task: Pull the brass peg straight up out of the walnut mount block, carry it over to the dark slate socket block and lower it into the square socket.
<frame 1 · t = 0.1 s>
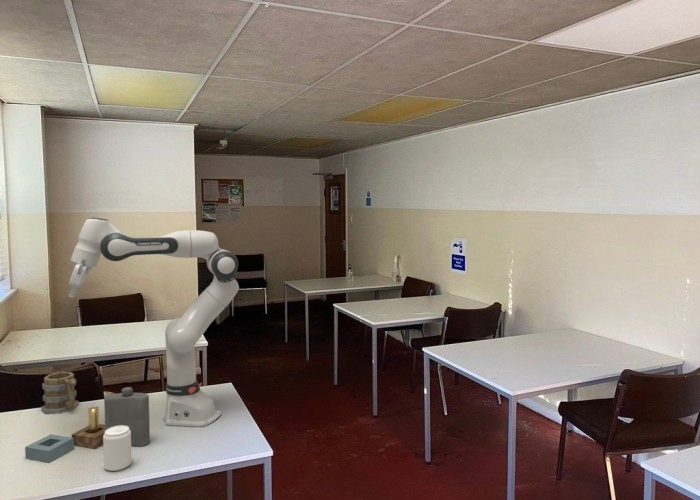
hand: (72, 295, 180), 52 cm above the table, tool tilted 20°, fingers open, 8 cm apart
slate socket block: (50, 453, 167), on the table
brass peg: (93, 424, 176), in the walnut mount
flask: (128, 443, 175), on the table
tankard: (63, 410, 204), on the table
walnut mount: (94, 440, 176), on the table
beverage can: (118, 466, 159), on the table
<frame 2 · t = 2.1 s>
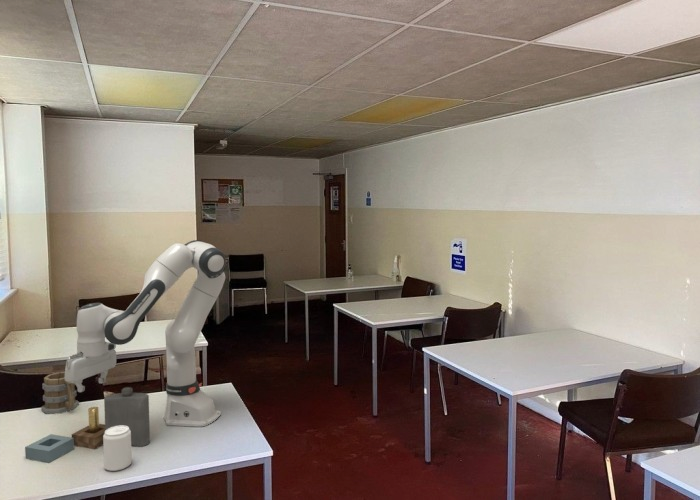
hand: (91, 387, 175), 20 cm above the table, tool pointing down, fingers open, 8 cm apart
nothing on the table moved.
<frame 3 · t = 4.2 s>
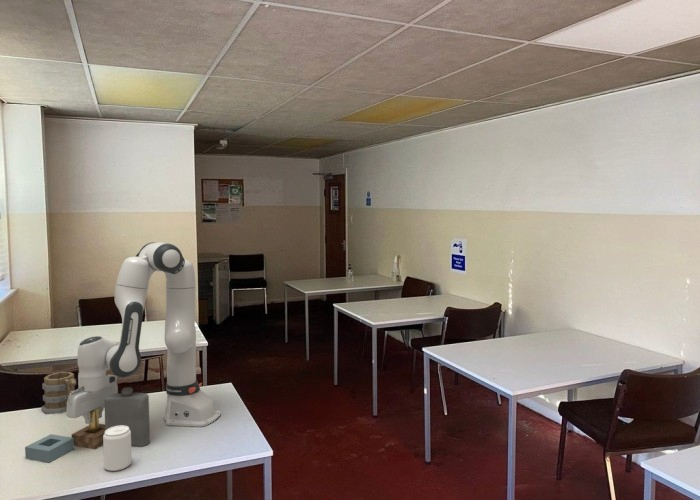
hand: (93, 420, 176), 8 cm above the table, tool pointing down, fingers closed on brass peg, 3 cm apart
brass peg: (93, 424, 176), in the walnut mount, touching gripper
everything else where it was.
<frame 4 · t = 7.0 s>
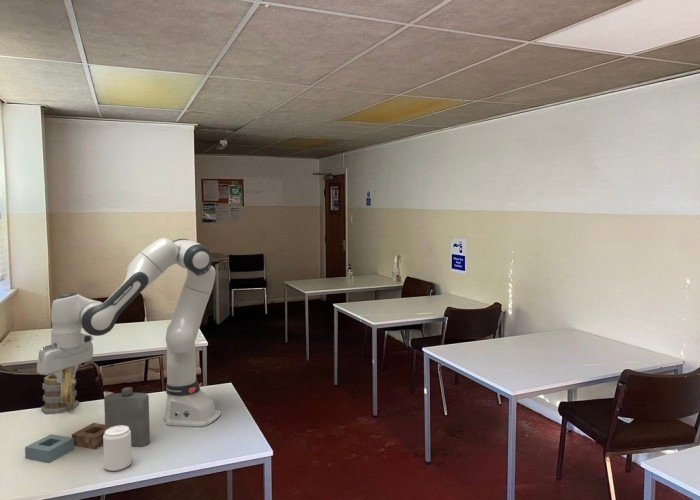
hand: (66, 380, 169), 24 cm above the table, tool pointing down, fingers closed on brass peg, 3 cm apart
brass peg: (66, 384, 169), point 23 cm above the table, touching gripper
everything else where it was.
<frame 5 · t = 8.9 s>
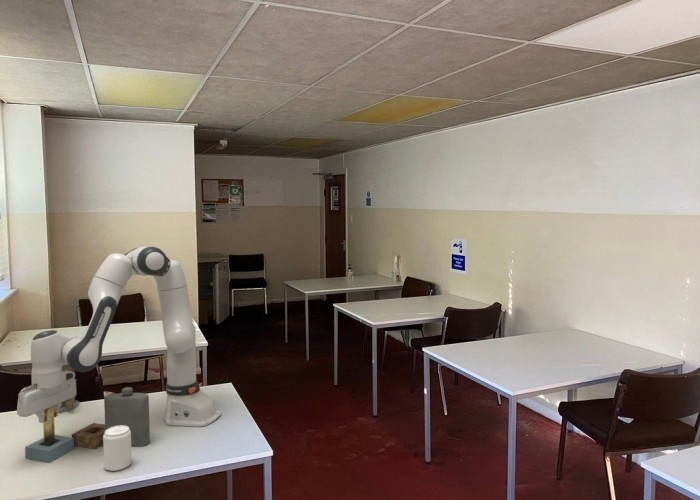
hand: (48, 419, 166), 12 cm above the table, tool pointing down, fingers closed on brass peg, 3 cm apart
brass peg: (48, 423, 166), point 10 cm above the table, touching gripper
everything else where it was.
when the fingers open (9 cm above the table, at t = 10.1 s): brass peg drops 2 cm, resting in slate socket block.
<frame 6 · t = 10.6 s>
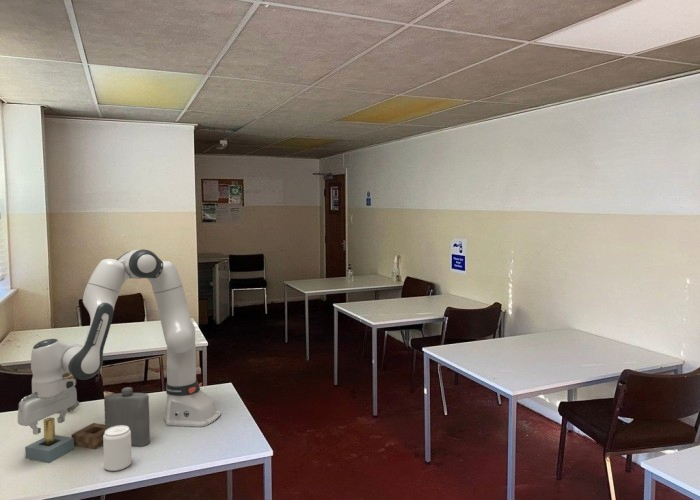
hand: (49, 427, 166), 9 cm above the table, tool pointing down, fingers open, 8 cm apart
brass peg: (49, 436, 167), in the slate socket block
everything else where it was.
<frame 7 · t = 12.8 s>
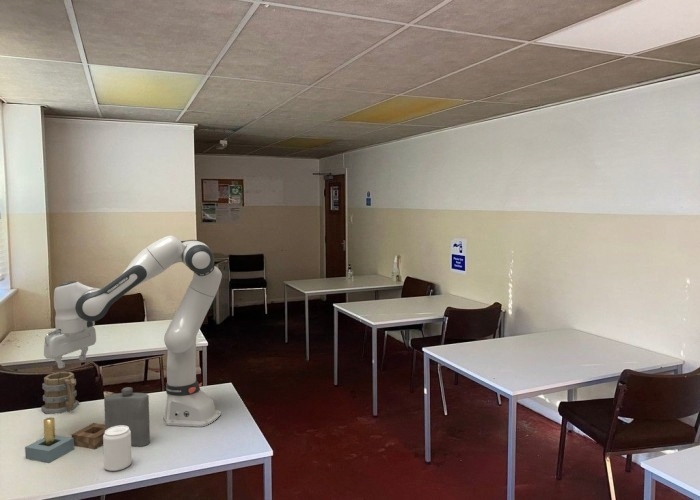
hand: (72, 363, 178), 27 cm above the table, tool pointing down, fingers open, 8 cm apart
nothing on the table moved.
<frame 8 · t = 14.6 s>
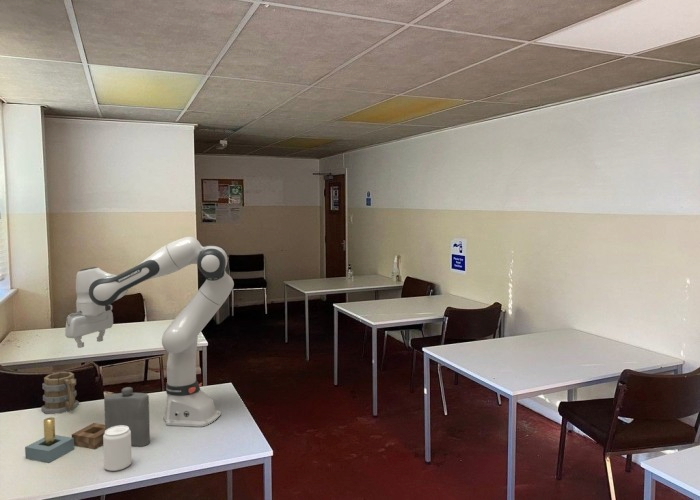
hand: (90, 344, 190), 31 cm above the table, tool pointing down, fingers open, 8 cm apart
nothing on the table moved.
at the end: brass peg 0.1 cm off-centre on the slate socket block, point 6.0 cm above the slate socket block's base; brass peg tilted 0°; the gripper is holding nothing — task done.
